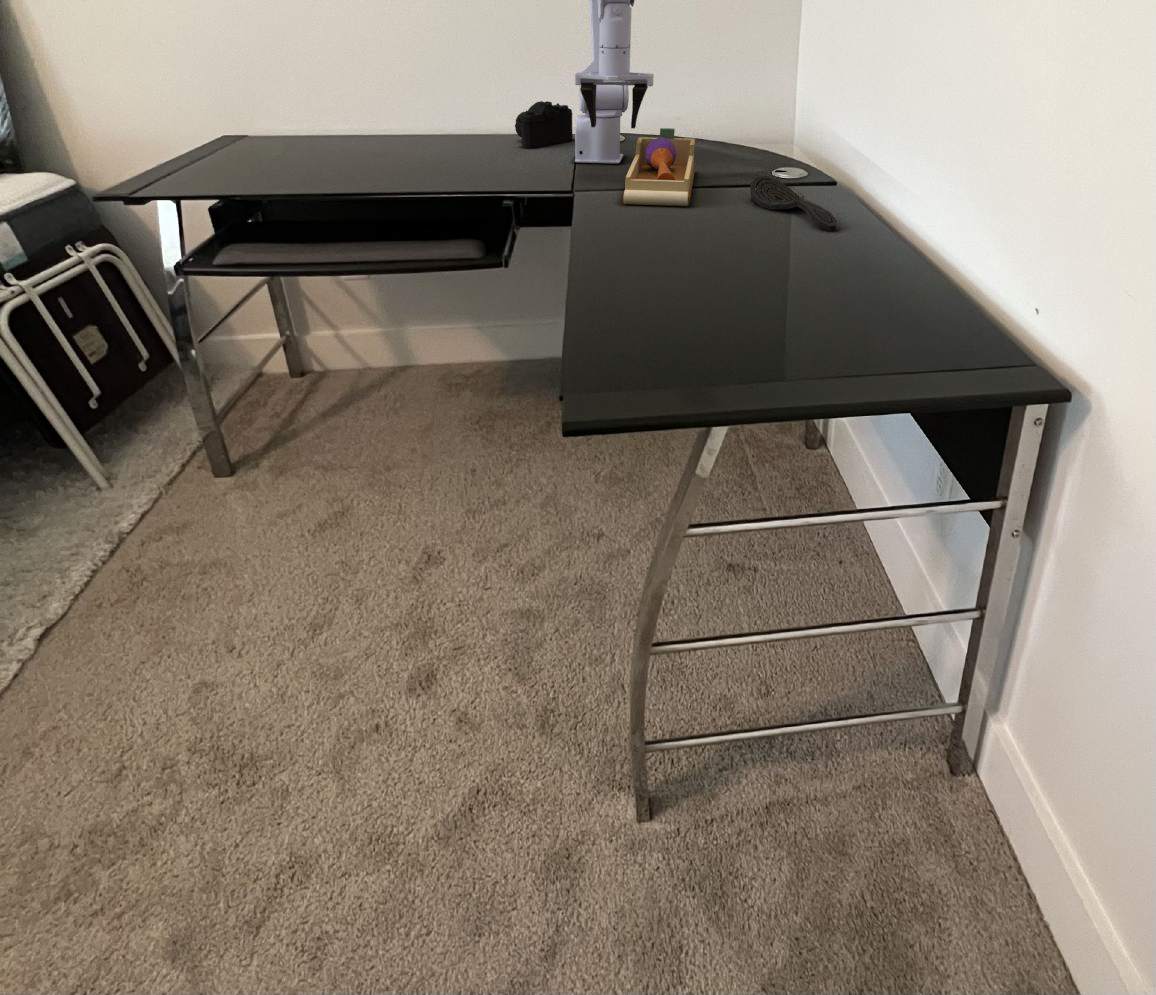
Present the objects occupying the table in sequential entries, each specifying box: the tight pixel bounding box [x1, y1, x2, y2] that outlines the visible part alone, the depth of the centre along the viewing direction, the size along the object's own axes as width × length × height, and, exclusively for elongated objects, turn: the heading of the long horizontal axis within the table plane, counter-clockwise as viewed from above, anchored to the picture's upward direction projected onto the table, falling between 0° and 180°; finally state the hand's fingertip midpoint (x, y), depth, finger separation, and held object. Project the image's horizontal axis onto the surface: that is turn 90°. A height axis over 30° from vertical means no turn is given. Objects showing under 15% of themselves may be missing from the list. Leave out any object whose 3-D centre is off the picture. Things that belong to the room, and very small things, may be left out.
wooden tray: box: [622, 127, 696, 207], centre depth 157 cm, size 27×12×8 cm, turn 171°
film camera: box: [514, 100, 574, 149], centre depth 194 cm, size 15×10×9 cm, turn 133°
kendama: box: [645, 137, 676, 180], centre depth 158 cm, size 6×6×20 cm
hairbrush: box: [749, 171, 838, 232], centre depth 145 cm, size 8×4×25 cm
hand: (613, 127), depth 161 cm, fingers open, 7 cm apart
